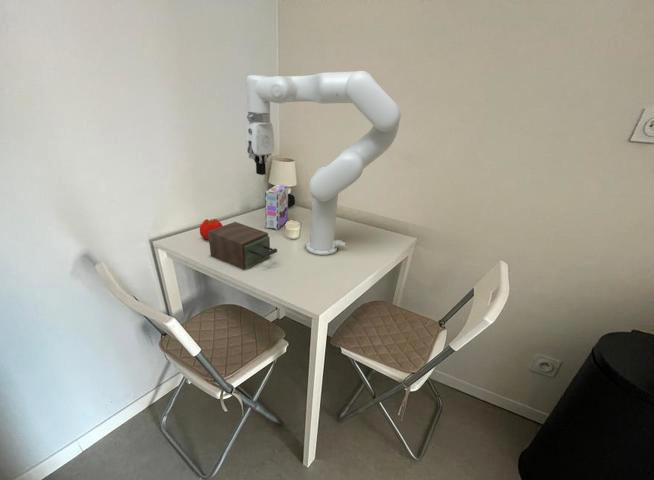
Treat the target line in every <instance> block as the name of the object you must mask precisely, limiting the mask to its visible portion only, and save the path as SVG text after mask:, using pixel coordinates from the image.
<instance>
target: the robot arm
mask: <svg viewBox="0 0 654 480" xmlns="http://www.w3.org/2000/svg"><path fill="white" fill-rule="evenodd" d="M245 83H246V85H245V86H246V105H247V115H246V119H247V121H248V122H247V123H246V136H245V139H246V152H247V154H248V159H251V160H253V162H254V163H255V173H256V174H257V175H259V176H265V175H266V173H267V172H266V170H267V169H266V164H267V162H268V158H269V157H271V156H272V154H273V153H275V135H274V128H273V123H272V122H271V103H274V104H284V103H294V102H296V103H299V102H312V103H317V104H325V105H329V104H352V105H354V106H355V108H356V109H357V110H358V111H359V112H360V113H361V114H362V115H363V116H364V117H365V118H366V120H368V122H370V124H371V125H372V127H371V128H370V130H368V132H367V133H365V134H364V135H363V136H362V137H361V138H360V139H358V140H357V141H355V143H353V144H352V145H351V146H348V147H347V148H346V149H344V150H343V151H341V152H340V153H339V155H338V156H337V157H336V158H335V159H334V160H333V161H331V162H330V163H329V164H328V165H326V166H325V165H324V166H322V167H319V168H318V169H317V170H316V171H315V173H314V174H313V175H312V177H311V178H310V181H309V185H308V191H309V194H310V195H311V197H312V198H311V211H310V213H311V216H310V218H311V219H310V233H309V235H310V236H309V241H308V242H307V243H306V244H305V249H306V251H308V252H309V253H311V254H314V255H318V256H328V255H332V254H335V253H336V252H337V251H338V247H343V248H345V247H346V241H343V240H342V239H336V237H335V233H336V221H337V211H338V201H339V194H340V193H342V192H343V191H344V190H346V189H348V187H350V186H351V185H353V184H354V183H356V182H357V180H359V178H360V177H361V176H362V174H363V173H364V172H363V171H364V169H365V168H367V167H369V165H371V164H372V163H373V162H374V161H375V160H377V159H378V158H379V157H381V156H382V155H383V154H384V153H386V151H387V150H389V148H390V147H391V146H392V144H393V143H394V141H395V139H396V137H397V134H398V131H399V127H400V121H401V116H402V115H401V109H400V107H399V105H398V104H397V102H395V101H394V100H393V99H392V98H391V97H390V96H389V95H388V94H387V93H386V91H385V90H384V89H383V88H382V87H381V86H380V85H379V83H378V82H377V81H376V80H375V79H374V77H373V76H372V75H371V73H369V72H368V71H365V70H355V71H353V70H352V71H330V72H329V71H328V72H327V71H326V72H325V71H324V72H319V73H316V74H311V75H292V76H291V75H288V76H287V75H286V76H285V75H284V76H283V75H275V76H266V75H262V74H261V75H259V74H249V75H247V76H246V80H245Z"/></svg>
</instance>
